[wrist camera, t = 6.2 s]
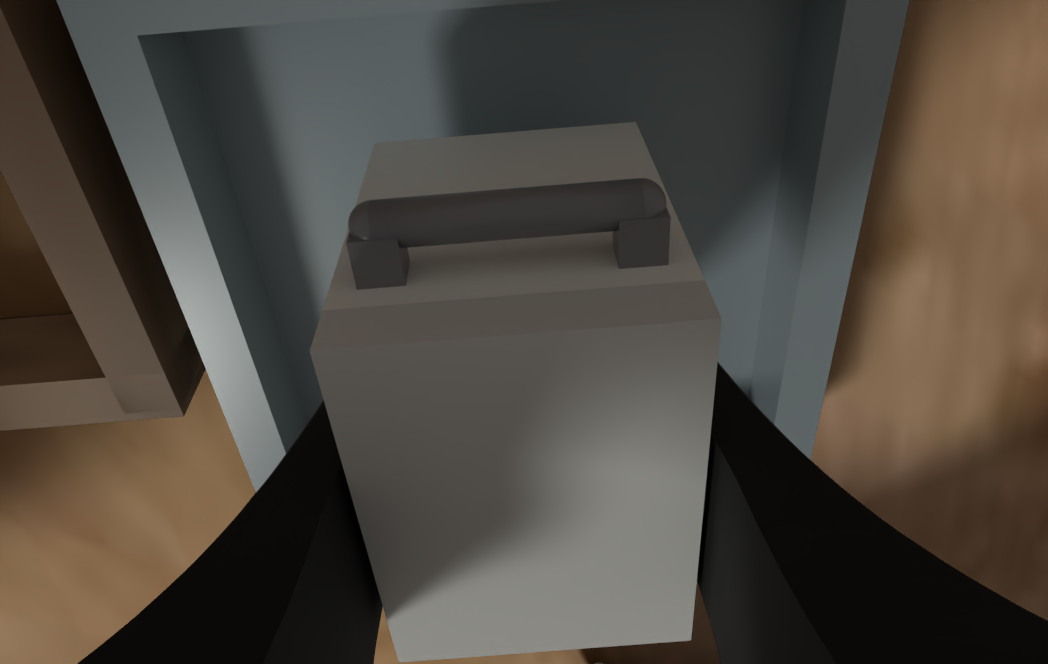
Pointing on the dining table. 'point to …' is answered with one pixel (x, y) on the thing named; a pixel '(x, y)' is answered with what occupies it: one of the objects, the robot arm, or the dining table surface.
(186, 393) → the walnut bay
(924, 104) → the dining table surface
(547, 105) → the slate tray
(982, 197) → the dining table surface
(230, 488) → the dining table surface
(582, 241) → the box
